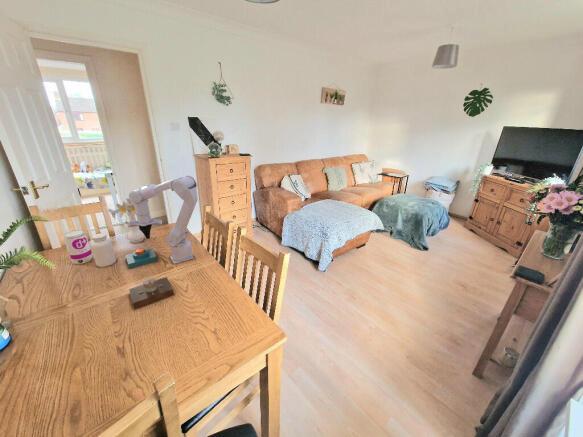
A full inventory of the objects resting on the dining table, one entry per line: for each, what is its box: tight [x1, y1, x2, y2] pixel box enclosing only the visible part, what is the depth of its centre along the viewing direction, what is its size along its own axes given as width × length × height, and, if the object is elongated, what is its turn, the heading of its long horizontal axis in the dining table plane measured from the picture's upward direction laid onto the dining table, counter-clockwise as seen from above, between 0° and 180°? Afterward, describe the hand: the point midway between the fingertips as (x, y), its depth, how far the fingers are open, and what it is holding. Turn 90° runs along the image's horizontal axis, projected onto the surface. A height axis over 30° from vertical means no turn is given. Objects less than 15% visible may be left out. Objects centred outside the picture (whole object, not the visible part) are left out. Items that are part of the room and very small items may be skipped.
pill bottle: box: [89, 232, 117, 268], centre depth 114 cm, size 8×8×15 cm
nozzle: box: [134, 247, 144, 255], centre depth 118 cm, size 4×4×2 cm
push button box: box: [125, 248, 158, 270], centre depth 119 cm, size 12×10×4 cm
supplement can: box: [62, 229, 94, 265], centre depth 115 cm, size 8×8×15 cm
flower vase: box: [106, 197, 146, 244], centre depth 133 cm, size 13×18×25 cm
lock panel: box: [128, 276, 175, 310], centre depth 97 cm, size 14×10×3 cm
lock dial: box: [142, 277, 157, 293], centre depth 96 cm, size 4×4×4 cm
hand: (148, 238), depth 122 cm, fingers closed
